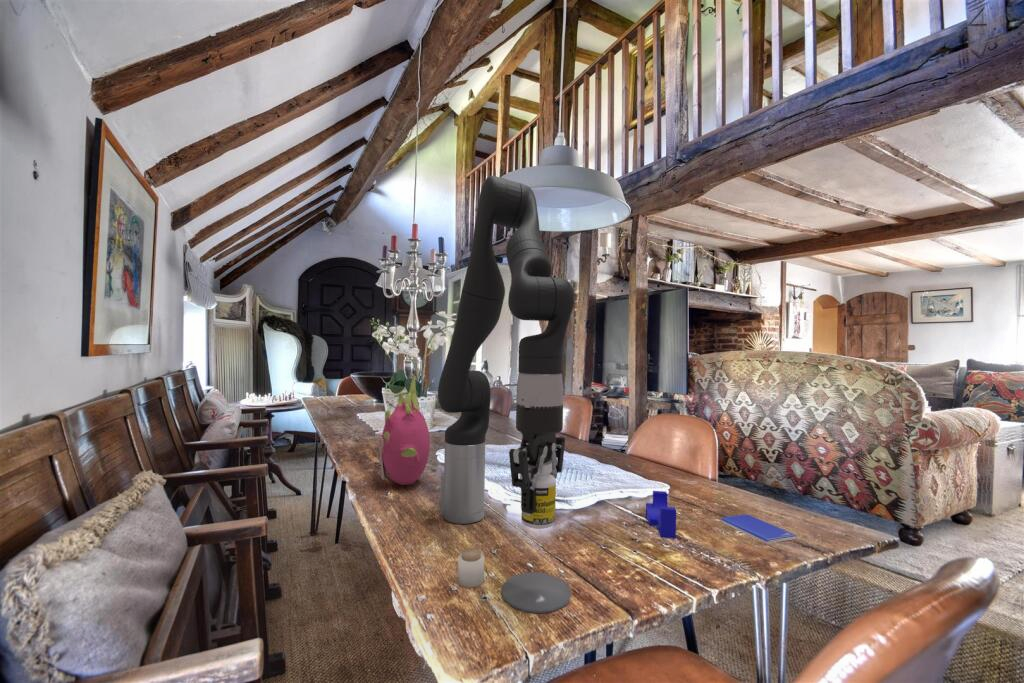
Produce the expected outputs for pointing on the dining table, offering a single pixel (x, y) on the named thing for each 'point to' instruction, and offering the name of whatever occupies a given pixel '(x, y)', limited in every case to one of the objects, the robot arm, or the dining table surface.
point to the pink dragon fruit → (404, 440)
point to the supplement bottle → (542, 500)
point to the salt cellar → (471, 568)
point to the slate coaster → (536, 592)
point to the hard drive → (758, 528)
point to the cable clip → (661, 515)
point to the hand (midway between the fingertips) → (538, 506)
